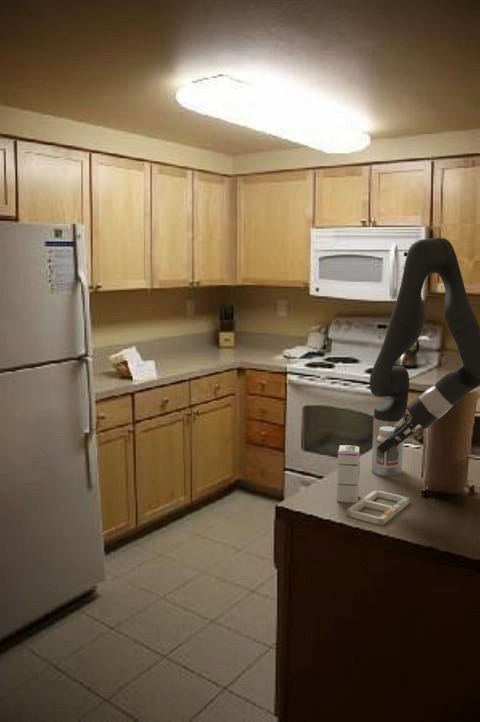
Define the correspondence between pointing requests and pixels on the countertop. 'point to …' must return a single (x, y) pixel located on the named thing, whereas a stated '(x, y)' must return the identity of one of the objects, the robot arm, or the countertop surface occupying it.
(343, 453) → the syrup box
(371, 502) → the plate
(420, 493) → the countertop surface
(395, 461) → the pill bottle
